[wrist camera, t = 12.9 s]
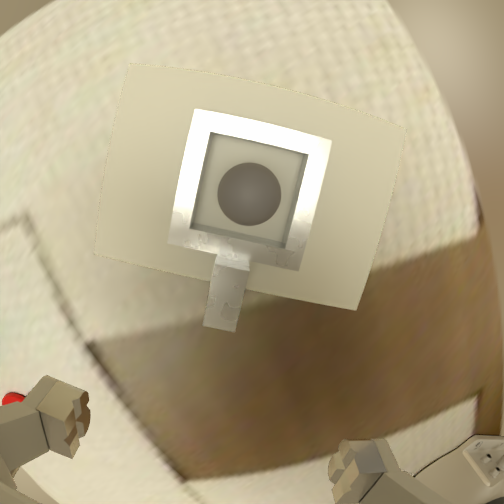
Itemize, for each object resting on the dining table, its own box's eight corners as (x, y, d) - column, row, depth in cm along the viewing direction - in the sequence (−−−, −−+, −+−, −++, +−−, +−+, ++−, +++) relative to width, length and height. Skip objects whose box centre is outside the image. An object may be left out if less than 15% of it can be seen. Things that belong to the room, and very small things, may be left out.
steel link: (279, 313, 23) (285, 341, 20) (165, 289, 23) (151, 313, 19) (324, 142, 20) (341, 138, 16) (199, 113, 20) (189, 102, 16)
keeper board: (398, 130, 22) (470, 120, 13) (350, 302, 25) (394, 365, 16) (136, 68, 20) (83, 25, 11) (101, 249, 23) (40, 291, 15)
